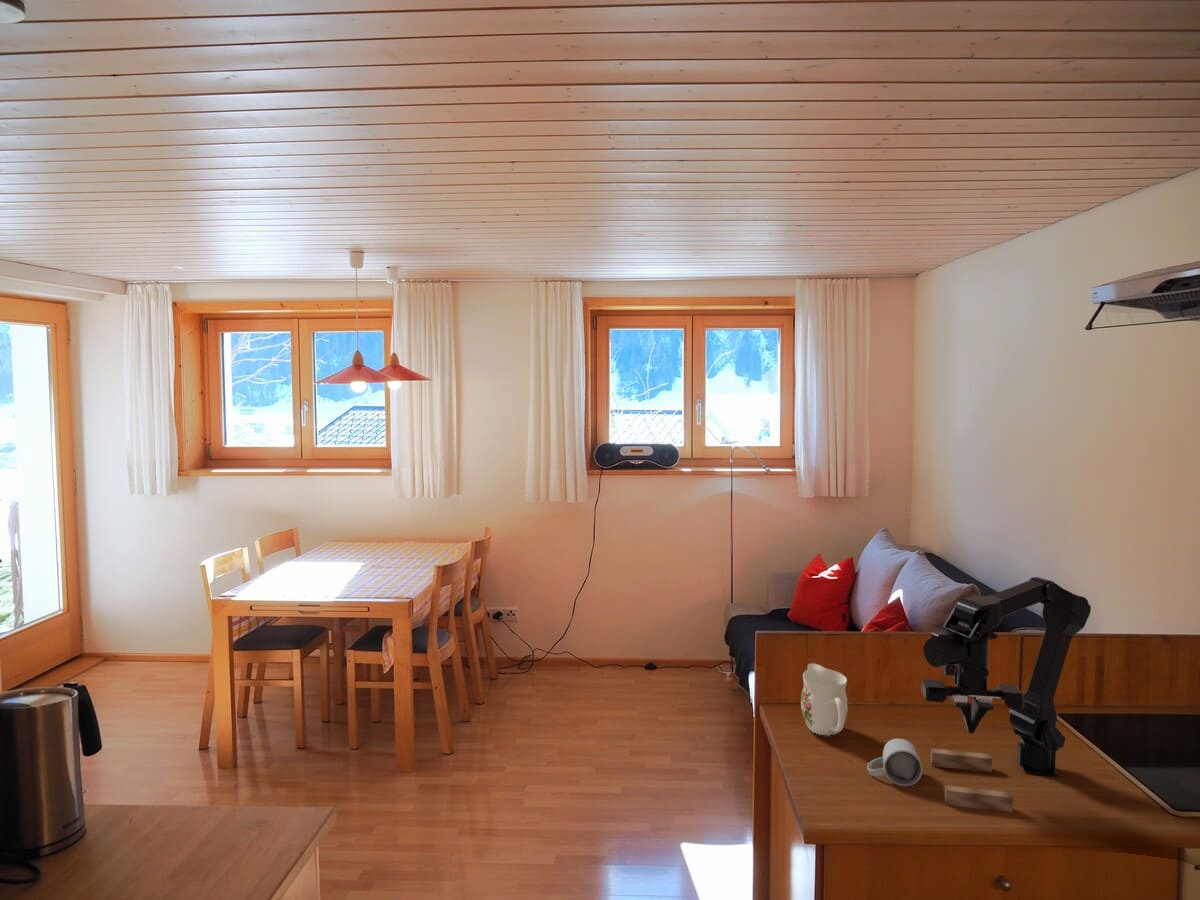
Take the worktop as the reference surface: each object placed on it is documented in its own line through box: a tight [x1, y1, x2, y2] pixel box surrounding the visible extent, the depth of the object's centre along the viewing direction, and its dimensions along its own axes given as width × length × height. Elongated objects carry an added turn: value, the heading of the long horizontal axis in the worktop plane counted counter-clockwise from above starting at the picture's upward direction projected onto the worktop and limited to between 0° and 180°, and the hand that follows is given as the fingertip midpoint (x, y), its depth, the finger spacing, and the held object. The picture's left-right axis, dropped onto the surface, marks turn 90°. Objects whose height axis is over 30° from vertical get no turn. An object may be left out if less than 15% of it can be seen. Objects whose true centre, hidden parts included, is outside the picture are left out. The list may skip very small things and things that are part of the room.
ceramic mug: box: [866, 737, 923, 787], centre depth 166 cm, size 11×8×8 cm
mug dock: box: [929, 748, 1014, 813], centre depth 162 cm, size 12×18×3 cm, turn 166°
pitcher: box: [800, 663, 849, 737], centre depth 186 cm, size 11×18×14 cm, turn 8°
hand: (970, 732), depth 162 cm, fingers closed
